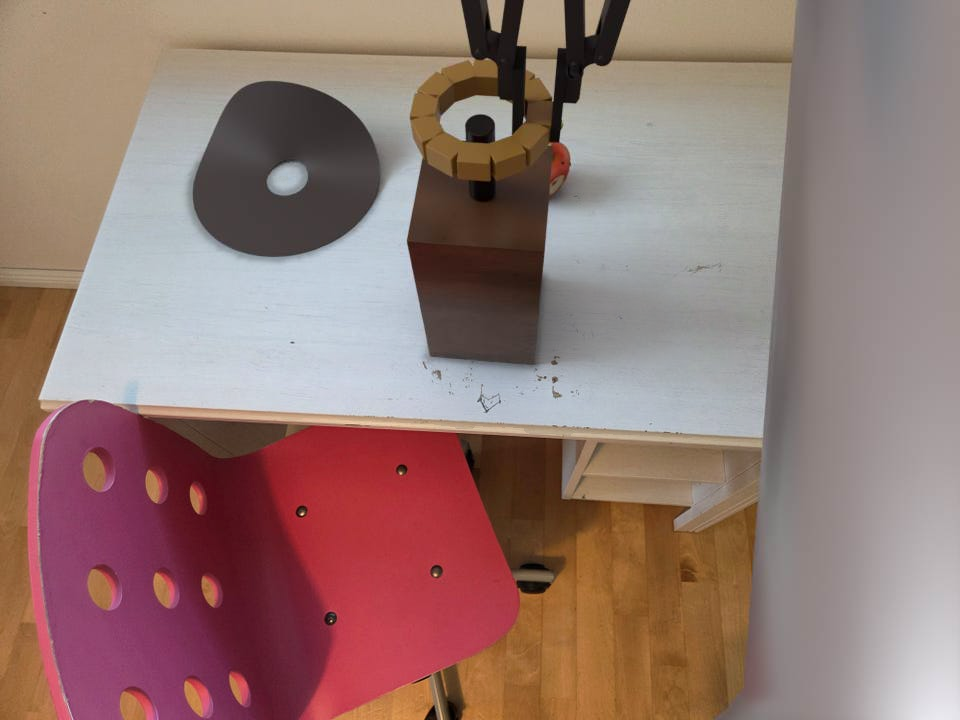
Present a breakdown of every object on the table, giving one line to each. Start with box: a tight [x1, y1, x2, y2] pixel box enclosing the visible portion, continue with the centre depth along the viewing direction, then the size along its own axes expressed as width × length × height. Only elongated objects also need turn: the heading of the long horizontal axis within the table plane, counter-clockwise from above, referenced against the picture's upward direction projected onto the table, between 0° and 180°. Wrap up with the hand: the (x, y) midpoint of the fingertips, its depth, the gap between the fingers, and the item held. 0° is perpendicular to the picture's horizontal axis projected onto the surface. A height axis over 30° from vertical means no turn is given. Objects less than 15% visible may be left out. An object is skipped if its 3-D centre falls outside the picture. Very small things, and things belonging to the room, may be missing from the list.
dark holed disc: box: [192, 80, 380, 257], centre depth 87 cm, size 25×20×10 cm
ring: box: [409, 59, 553, 181], centre depth 55 cm, size 11×11×2 cm
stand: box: [406, 139, 553, 366], centre depth 72 cm, size 12×12×22 cm
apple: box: [548, 121, 572, 198], centre depth 86 cm, size 8×7×10 cm
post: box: [464, 113, 496, 202], centre depth 59 cm, size 2×2×8 cm
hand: (536, 128), depth 55 cm, fingers closed on ring, 2 cm apart
